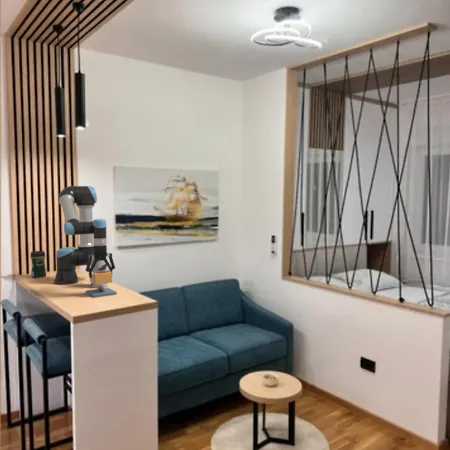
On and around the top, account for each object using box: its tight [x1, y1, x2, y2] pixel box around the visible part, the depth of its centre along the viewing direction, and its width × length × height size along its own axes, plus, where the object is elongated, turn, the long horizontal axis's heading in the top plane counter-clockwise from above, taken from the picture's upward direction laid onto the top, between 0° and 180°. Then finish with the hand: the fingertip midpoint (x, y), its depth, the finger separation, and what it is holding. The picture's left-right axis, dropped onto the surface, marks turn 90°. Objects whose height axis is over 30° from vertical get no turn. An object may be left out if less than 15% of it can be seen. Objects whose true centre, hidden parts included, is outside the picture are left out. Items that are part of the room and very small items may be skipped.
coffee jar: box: [30, 250, 47, 278], centre depth 304 cm, size 10×8×19 cm
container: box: [90, 256, 108, 289], centre depth 275 cm, size 10×10×20 cm
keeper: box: [85, 284, 118, 299], centre depth 256 cm, size 14×14×12 cm
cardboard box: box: [89, 269, 113, 285], centre depth 256 cm, size 10×10×6 cm
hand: (100, 281), depth 256 cm, fingers closed on cardboard box, 10 cm apart
